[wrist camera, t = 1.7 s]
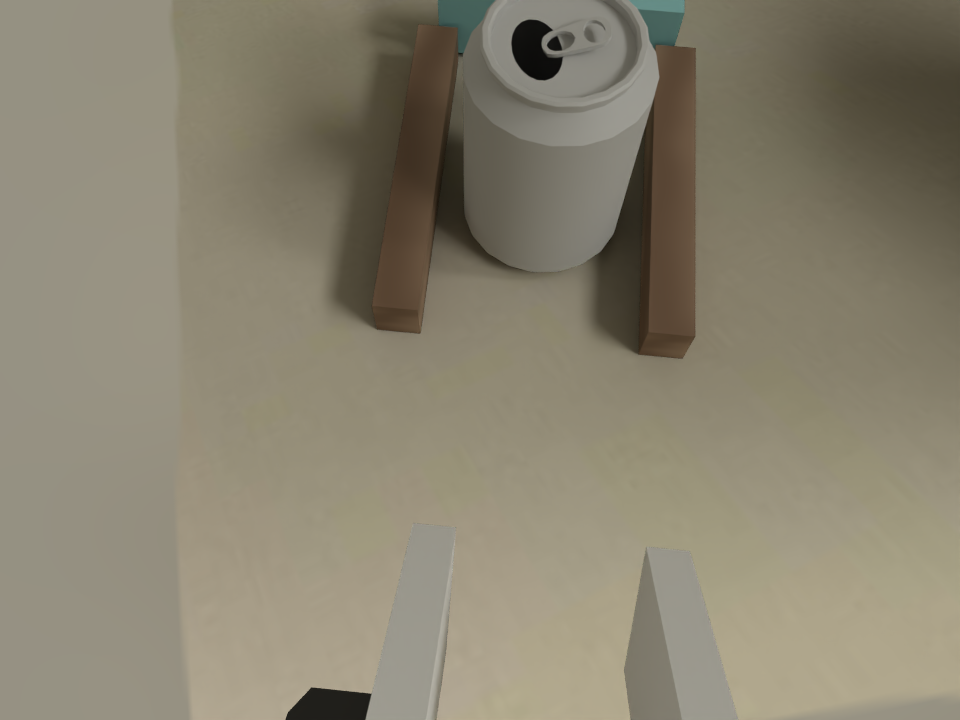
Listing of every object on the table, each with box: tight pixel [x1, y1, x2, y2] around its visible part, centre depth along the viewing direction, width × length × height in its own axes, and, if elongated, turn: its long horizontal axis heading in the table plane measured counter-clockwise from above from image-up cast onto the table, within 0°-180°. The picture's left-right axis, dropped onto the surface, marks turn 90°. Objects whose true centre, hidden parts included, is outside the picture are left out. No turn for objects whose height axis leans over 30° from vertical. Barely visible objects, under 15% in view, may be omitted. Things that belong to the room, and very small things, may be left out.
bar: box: [438, 0, 685, 53], centre depth 44 cm, size 12×2×4 cm, turn 84°
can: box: [463, 0, 659, 272], centre depth 37 cm, size 8×8×12 cm
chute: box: [372, 24, 696, 358], centre depth 42 cm, size 14×16×2 cm
